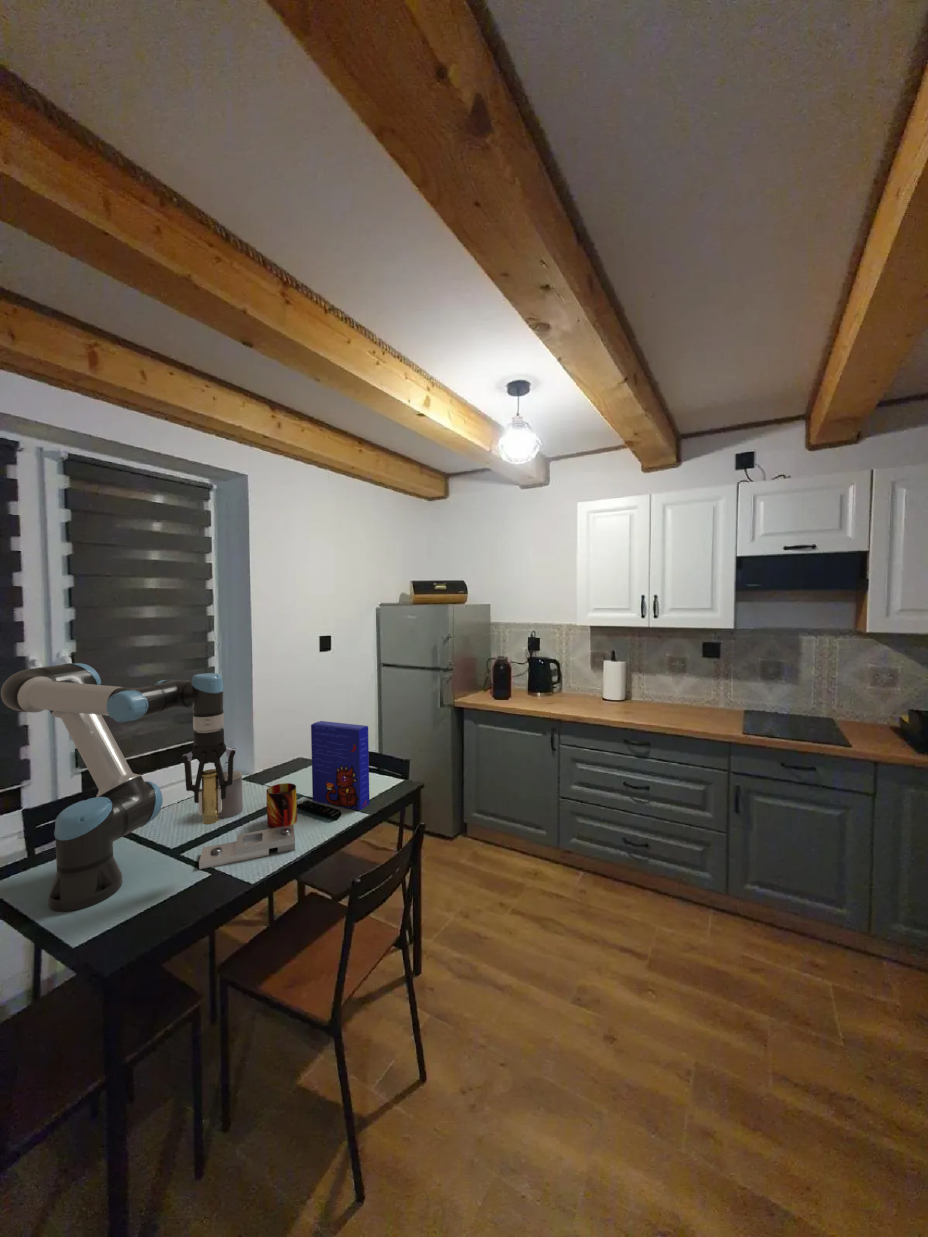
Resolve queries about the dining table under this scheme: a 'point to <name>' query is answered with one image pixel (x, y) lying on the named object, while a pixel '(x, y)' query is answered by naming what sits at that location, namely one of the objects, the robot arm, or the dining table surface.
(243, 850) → the slotted metal plate
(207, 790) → the brass pin
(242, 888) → the dining table surface
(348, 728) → the cereal box
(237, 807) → the pillar candle
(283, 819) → the mug
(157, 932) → the dining table surface
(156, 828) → the dining table surface
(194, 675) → the robot arm
